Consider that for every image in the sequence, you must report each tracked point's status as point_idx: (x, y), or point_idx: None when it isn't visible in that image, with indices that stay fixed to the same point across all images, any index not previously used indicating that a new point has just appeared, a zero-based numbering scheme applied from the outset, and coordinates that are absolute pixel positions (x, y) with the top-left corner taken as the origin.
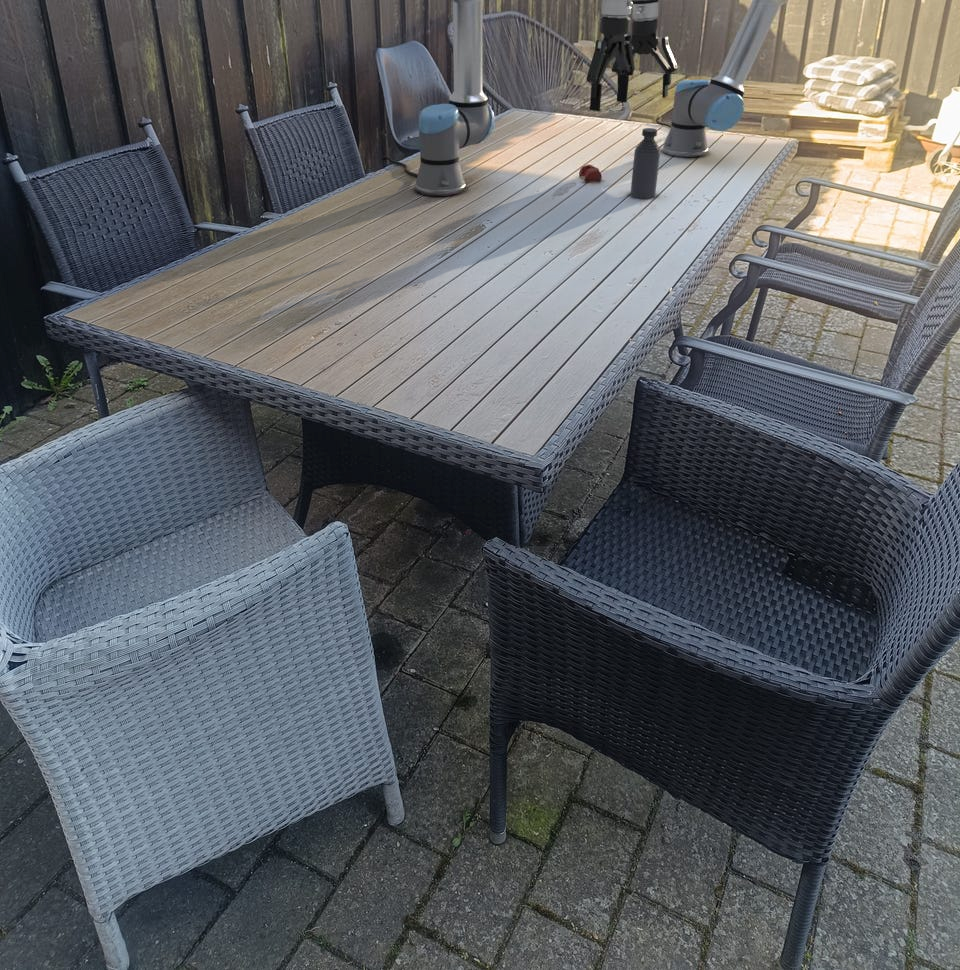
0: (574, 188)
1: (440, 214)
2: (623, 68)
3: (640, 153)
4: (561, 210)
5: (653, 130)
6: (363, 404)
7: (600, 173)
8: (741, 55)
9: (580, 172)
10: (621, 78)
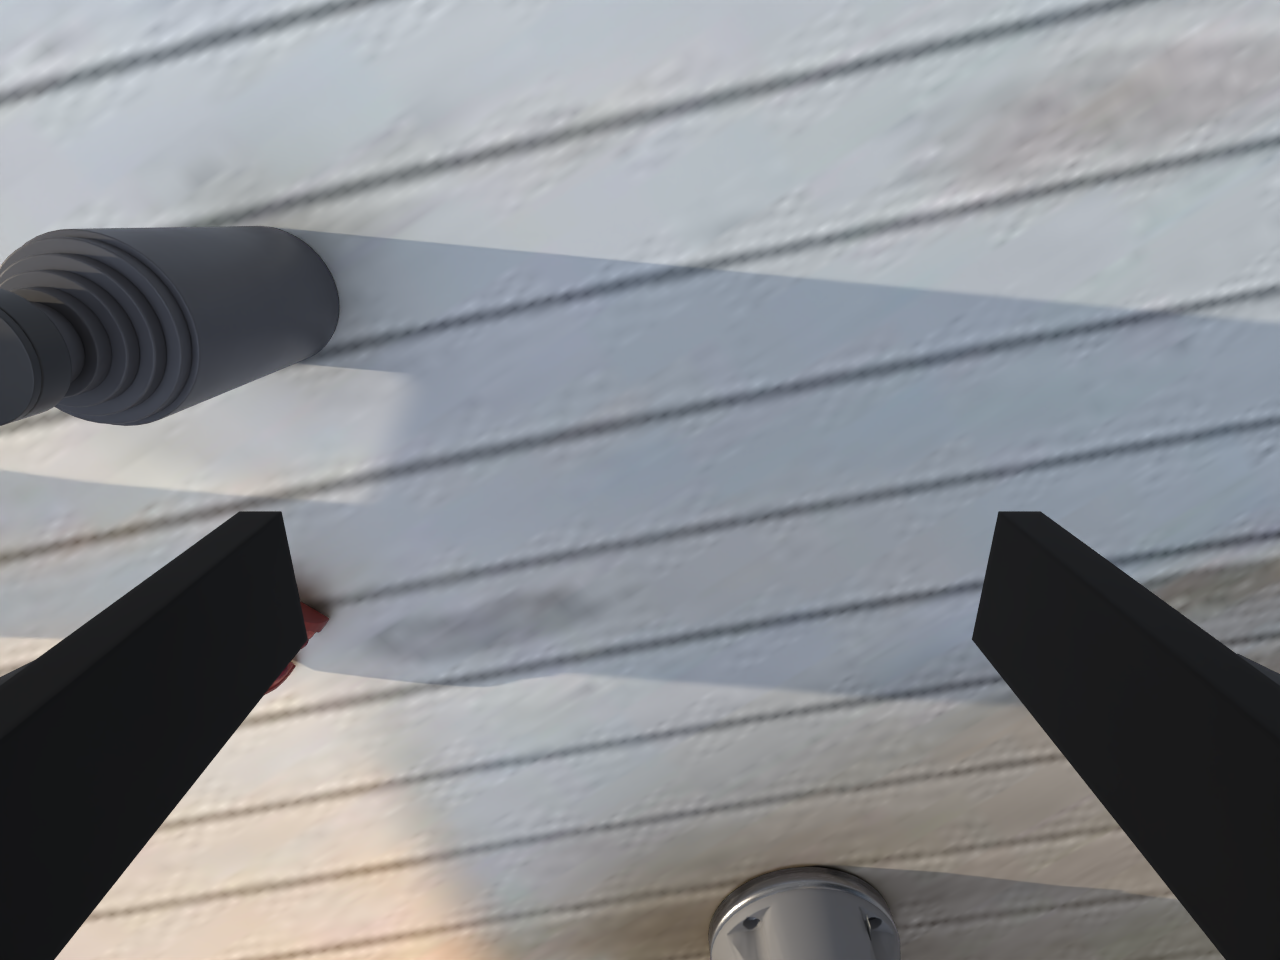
0: (438, 603)
1: (1054, 786)
2: None
3: (202, 337)
4: (748, 478)
5: None
6: None
7: None
8: None
9: (281, 679)
10: (46, 880)
